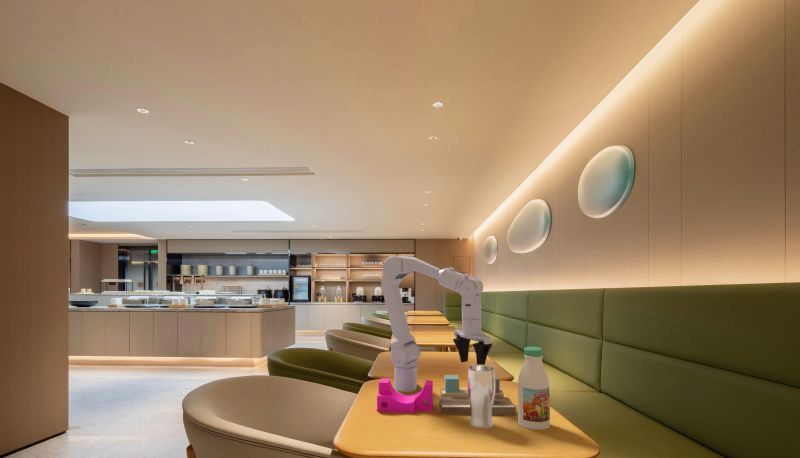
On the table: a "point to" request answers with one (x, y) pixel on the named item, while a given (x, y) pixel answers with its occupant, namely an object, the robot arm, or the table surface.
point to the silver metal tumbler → (481, 395)
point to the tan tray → (464, 393)
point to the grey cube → (497, 384)
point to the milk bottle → (533, 392)
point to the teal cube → (451, 383)
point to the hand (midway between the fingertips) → (472, 364)
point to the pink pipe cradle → (404, 398)
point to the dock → (463, 407)
